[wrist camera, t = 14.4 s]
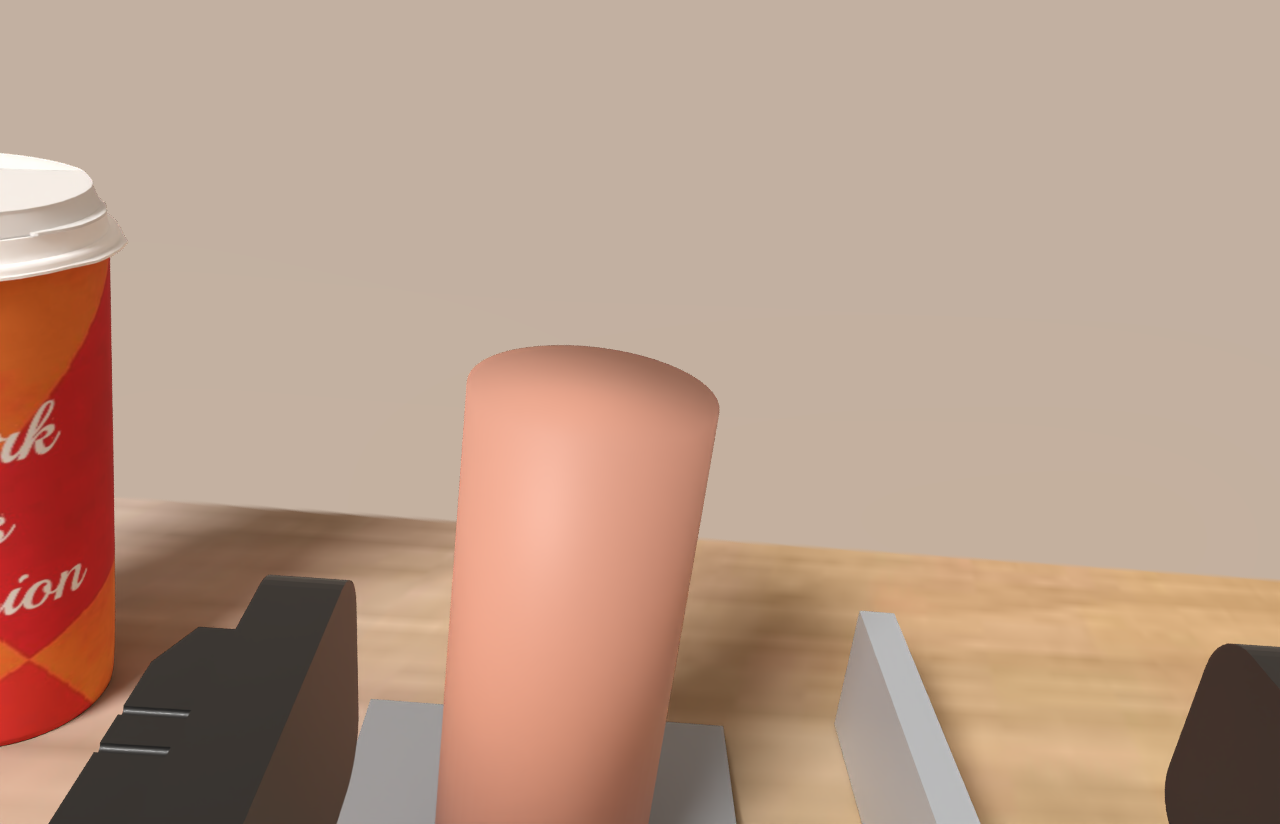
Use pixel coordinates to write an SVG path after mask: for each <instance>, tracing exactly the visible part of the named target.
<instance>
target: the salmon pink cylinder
mask: <svg viewBox="0 0 1280 824" xmlns="http://www.w3.org/2000/svg"><path fill="white" fill-rule="evenodd" d="M718 417H719V404H718V400H717V398H716V397H715V395H714V394H713V392H712V391H711V390H710V389H709V388H708V387H707V386H706V385H704V384H703V383H702V382H701V381H699V380H698V379H696V378H695V377H693V376H692V375H690V374H688V373H686V372H684V371H682V370H680V369H678V368H676V367H673V366H671V365H669V364H666V363H663V362H660V361H658V360H655V359H651V358H648V357H644V356H640V355H637V354H632V353H628V352H623V351H618V350H612V349H605V348H599V347H588V346H572V345H551V346H550V345H548V346H534V347H526V348H520V349H514V350H510V351H506V352H502V353H499V354H496V355H493V356H491V357H489V358H487V359H485V360H483V361H482V362H480V363H479V364H477V365H476V366H475V367H474V368H473V369H472V370H471V372H470V374H469V375H468V379H467V387H466V401H465V415H464V428H463V442H462V457H461V471H460V484H459V498H458V512H457V525H456V539H455V553H454V567H453V581H452V595H451V609H450V622H449V636H448V650H447V664H446V678H445V692H444V706H443V719H442V733H441V747H440V761H439V775H438V789H437V803H436V817H435V824H648V823H649V817H650V811H651V806H652V800H653V794H654V788H655V782H656V777H657V771H658V765H659V759H660V753H661V748H662V742H663V736H664V730H665V724H666V719H667V713H668V707H669V701H670V695H671V690H672V684H673V678H674V672H675V666H676V661H677V655H678V649H679V643H680V637H681V632H682V626H683V620H684V614H685V608H686V603H687V597H688V591H689V585H690V579H691V574H692V568H693V562H694V556H695V550H696V545H697V539H698V533H699V527H700V521H701V515H702V510H703V504H704V498H705V492H706V487H707V481H708V475H709V469H710V463H711V458H712V452H713V446H714V440H715V434H716V428H717V423H718Z"/></svg>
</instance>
